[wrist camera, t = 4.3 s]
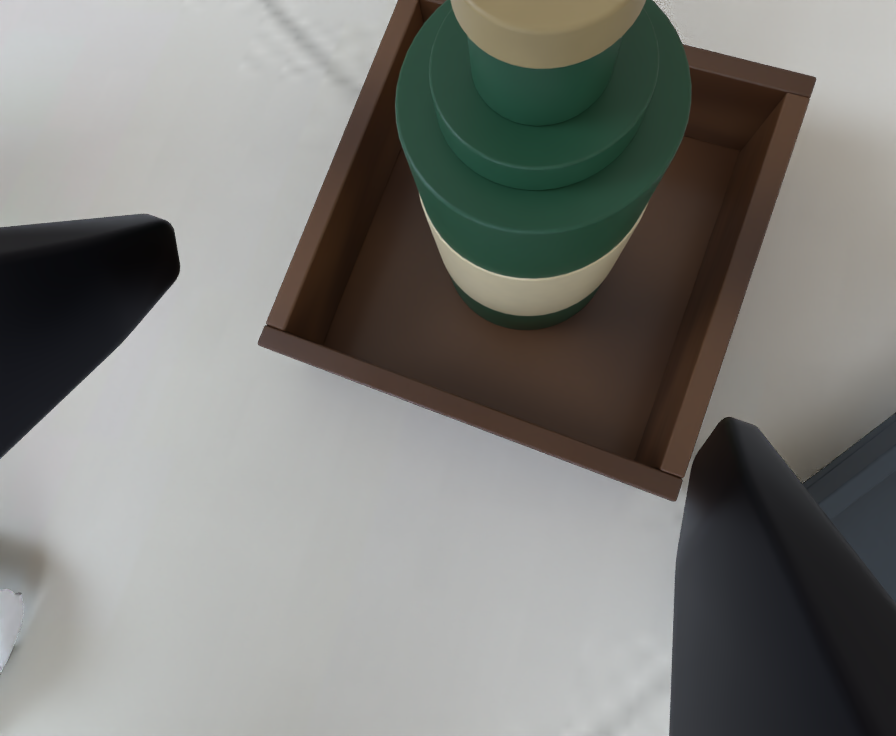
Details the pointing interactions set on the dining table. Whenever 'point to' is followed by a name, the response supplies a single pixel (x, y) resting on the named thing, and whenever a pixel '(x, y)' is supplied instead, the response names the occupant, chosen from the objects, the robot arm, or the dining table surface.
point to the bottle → (539, 143)
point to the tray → (864, 500)
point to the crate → (584, 334)
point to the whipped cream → (9, 622)
